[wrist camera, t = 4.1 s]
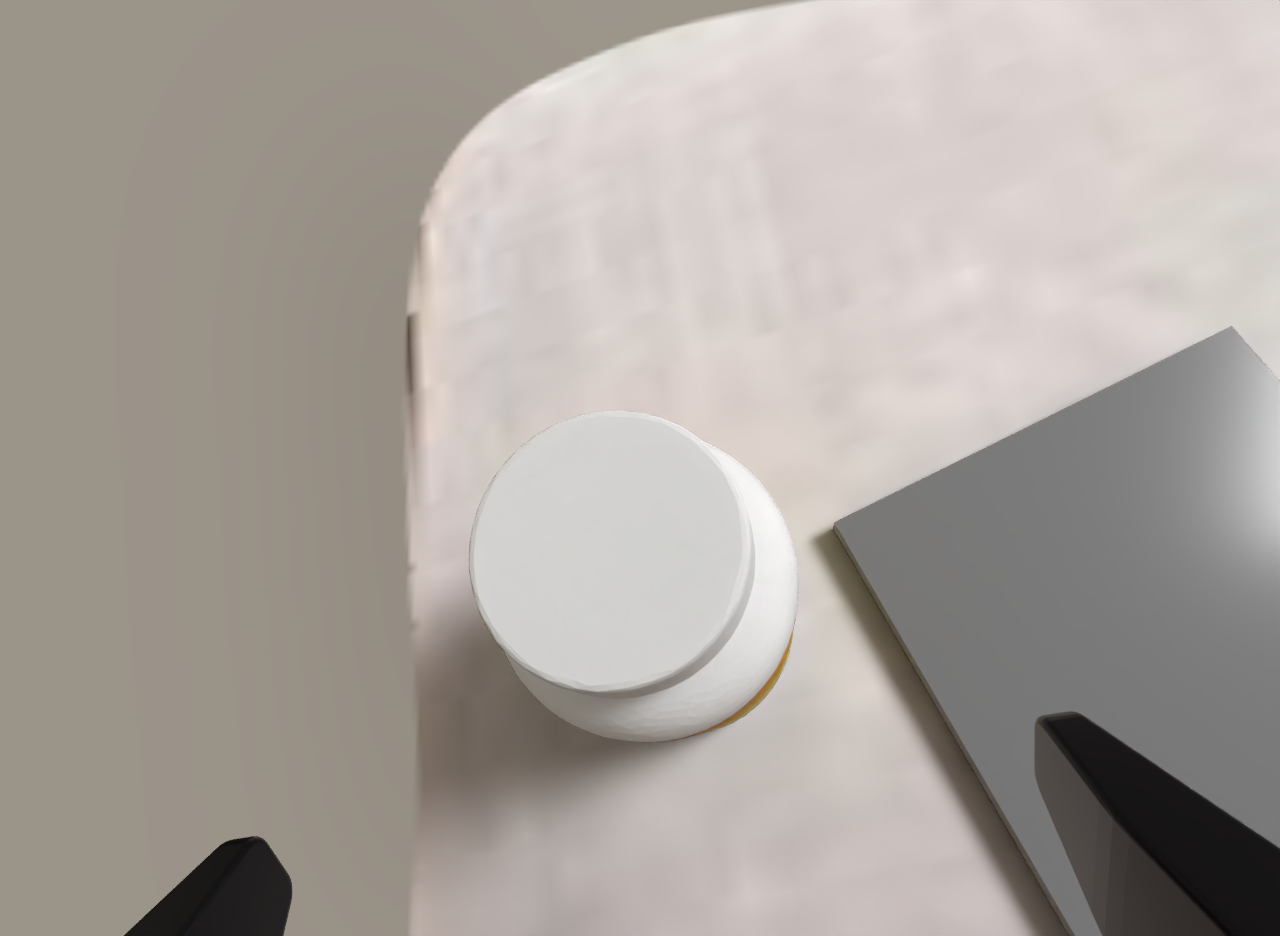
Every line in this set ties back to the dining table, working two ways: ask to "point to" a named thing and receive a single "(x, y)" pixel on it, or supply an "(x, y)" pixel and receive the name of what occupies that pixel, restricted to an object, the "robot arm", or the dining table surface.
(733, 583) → the supplement bottle
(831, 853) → the dining table surface
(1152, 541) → the slate coaster
